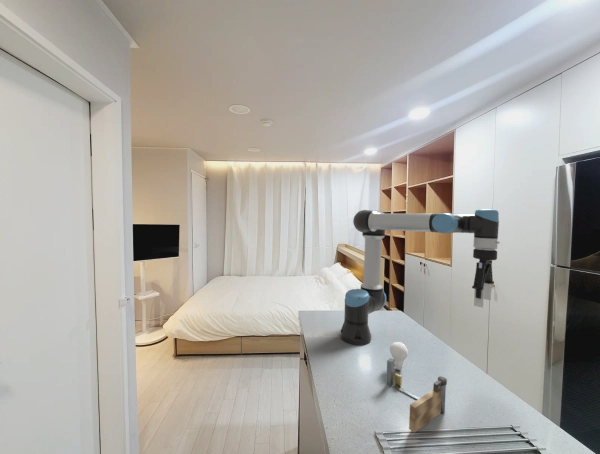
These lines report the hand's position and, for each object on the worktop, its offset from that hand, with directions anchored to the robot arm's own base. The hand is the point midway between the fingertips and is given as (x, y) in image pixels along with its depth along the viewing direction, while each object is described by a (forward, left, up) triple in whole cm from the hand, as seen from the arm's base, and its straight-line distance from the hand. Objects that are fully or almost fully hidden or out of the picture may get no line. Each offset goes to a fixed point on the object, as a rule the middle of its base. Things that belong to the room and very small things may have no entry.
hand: (482, 302), depth 98 cm
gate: (-4, -41, -27) cm, 50 cm away
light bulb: (-22, -23, -28) cm, 43 cm away
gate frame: (-11, -34, -28) cm, 45 cm away
